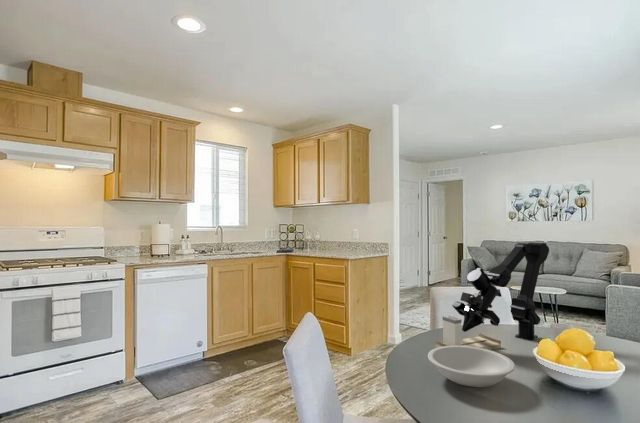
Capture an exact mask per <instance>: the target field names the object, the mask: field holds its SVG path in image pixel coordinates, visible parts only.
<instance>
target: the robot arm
mask: <svg viewBox="0 0 640 423" xmlns="http://www.w3.org/2000/svg"><path fill="white" fill-rule="evenodd" d="M549 253H550V248H549V246H548V244H546V243H544V242H533V241H532V242H531V241H530V242H528V243H527V242H517V243H516V244H515V245H514V247H513V249H512V250H511V251H510V252H509V253H508V254H507V256H506V257H505V258H504V259H503V261H502V262H501V263H499V265H497V266H495V267H493V268H491V269H490V270H489V271H488V272H487V273H486V272H485V271H484V269H483V268H481V267H477V268H476V269H474V270H472V271H471V272H468V273H467V275H466V278H467V279H466V280H468V282H469V283H470V284H471V286H472V287H474V289H475V290H476V291H478V293H476V292H475V293H474V294H472V293H469V292H464V291H463V292H462V294H461V295H460V296H461V297H460V300H459V301H458V300H457V301H454V302H453V304H452V308H453V309H454V310H455V311H456V312H457V313H458V314H459V315H461V316H462V317H463V322H462V323H463V324H462V327H461V331H462V332H464V333H466V332H468V331H469V330H471V329H473V328H476V327H477V326H480V325H484V324H485V320H486V319H487V320H489V323H490V324H491V325H492V326H495V327H498V326H499V324H500V323H501V319H500V317H499V316H498V314H496V312H495V311H494V310H491V309H492V308H493V305H492V303H493V302H494V300H495V298H496V297H498V298H499V297H502V293H501V289H499V288H505V287H507V286H508V285H509V283H510V280H511V279H512V273H513V271H514V270H515V269H516V267H517V266H518V265H520V262H522V260H523V259H524V258H525V260H526V263H525V264H526V265H525V269H524V274H523V278H522V280H521V281H522V282H521V287H520V291H519V293H518V294H519V295H518V296H517V297H513V298H512V300H511V303H510V304H511V305H510V306H509V308H510V313H511V317H512V319H513V321H517V323H518V324H517V325H518V333H517V334H515V338H520V339H523V340H524V339H525V340H528V341H534V340H535V339H537V338H538V335H536V334H535V325H536V326H537V325H539V324H540V323H541V318H540V316H539V315H538V314H537V312H536V304H535V301H534V294H535V290H536V287H537V281H538V278H539V275H540V274H539V273H540V270H541V266H542V264H543V263H545V261H547V259H548V256H549ZM497 287H499V288H497ZM460 301H461V302H460ZM464 302H465V303H464Z"/></svg>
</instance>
